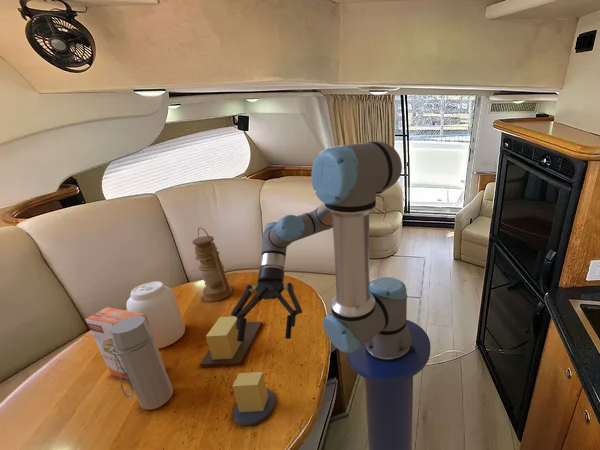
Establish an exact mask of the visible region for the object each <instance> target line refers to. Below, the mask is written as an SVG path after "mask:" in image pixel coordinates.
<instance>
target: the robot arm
mask: <svg viewBox="0 0 600 450" xmlns="http://www.w3.org/2000/svg"><path fill="white" fill-rule="evenodd" d="M402 170H403V163H402V159H401V156H400V153H398V151H397V150H396V149H395V148H394V147H393V146H392V145H390V144H389V143H387V142H383V141H379V140H377V141H369V142H359V143H349V144H339V145H336V146H331V147H327V148H324V149H323V150H321V151H320V152H319V154H318V155H317V156H316V157H315V159H314V161H313V164H312V168H311V185H312V188H313V190H315V195H316V197H317V199H318V200H319V201H320V202H322V203H321V204H319V206H317V207H316V208H315V209H314V210H312V211H308V212H304V213H302V214H298V215H296V214H286V215H284V216H283V217H281V218H280V219H278V221H272V222H268V223H266V225H264V231H263V234H262V237H263V238H262V246H261V255H260V260H259V268H260V269H259V270H258V276H257V284H256V285H251V284H246V286H245V290H244V292H243V293H242V295H241V296H240V299H239V300H238V301H237V303H236V304H235V306H234V308H233V309H232V311H231V312H230V316H235V317H237V323H236V329H238V337H237V341H240V342H243V341H244V334H245V327H246V322H247V318H246V316H247V315H248V314H249V313H250V312H251V311H253V309H254V308H255V307H256V305H257V304H259V302H261V301H262V300H265V301H267V300H276V299H278V300H279V302H280V303H281V304H282V306H283V307H284V308H285V310H286V311H287V312H288V313H289V314H287V316H286V326H285V327H286V328H285V337H284V338H285V339H287V340H290V339H292V328H294V327H295V326H296V317H297V315H299V314H302V313H303V309H302V307H301V304H300V302H299V300H298V298H297V295H296V294H295V291H294V284H293V283H291V282H288V283H286V284H284V280H285V271H284V270H285V268H286V258H287V247H289V246H290V245H291V244H292V243H294V242H297V241H299V240H302V239H305V238H308V237H310V236H313V235H315V234H319V233H321V232H325V231H328V230H329V231H330V230H331V229H332V234H333V252H334V273H335V291H336V294H335V296H334V297H333V298H332V299H331V303H330V307H331V313H329V314H327V315H326V316H325V317H324V318H323V320H322V326H323V330H324V332H325V334H326V337H327V338H328V340H329V341H330V343H331V344H332V345H333V346H334V347H335V348H336V349H337V350H339V351H340V352H341V353H343V354H346V353H348V354H349V353H352V352H354V351H356V350H357V349H359V348H361V347H362V346H363V345H364V344H365V349H366V351H367V353H368V354H369V355H370V356H371V357H372V358H374V359H376V360H379V361H385V362H390V361H396V360H399V359H401V358H403V357H405V356H406V355H407V354H408V353H409V352H410V350H412V351H415V348H413V347H412V337H411V334H410V331H409V329H408V326H407V324H406V320H407V317H408V316H407V312H408V311H407V310H408V308H407V307H408V306H407V305H408V292H407V287H406V284H405V282H403V281H401V280H400V279H398V278H395V277H392V276H391V277H390V276H378V277H374V278H372V279H371V280H370V276H371V275H370V270H371V269H370V266H371V265H370V264H371V263H370V212H372V211H373V210H374V209H375V208H376V206H377V195H380V194H383V193H384V192H385V191H386V190H388V189H390V188H391V187H393V186H394V185H395V184H396V183H398V180H399V179H400V177H401V175H402ZM284 290H285V291H286V292H287V293H288V295H289V297H290V299H291V300H290V301H291V302H292V304H293V306H294V308H293V307H292V306H291V305H290V303H289V302H288V300H286V298H285V297H284V295H283V294H282V293H283V291H284ZM255 291H256V293H255V294H254V295H253V293H254V292H255ZM252 295H253V297H252V298H251V296H252ZM250 298H251V299H250ZM249 299H250V300H249ZM248 301H249V302H248ZM247 302H248V303H247Z"/></svg>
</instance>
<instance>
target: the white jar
mask: <svg viewBox="0 0 600 450" xmlns="http://www.w3.org/2000/svg"><path fill="white" fill-rule="evenodd" d="M177 300H178V299H177V297H176V294H175V291H173V289H172V288H171V287H169V286H166V285H165V284H164V283H163V282H162V281H157V280H156V281H148V282H145V283H141V284H140V285H137V286H135V287H134V288H133V289H131V291H130V297H129V298H128V299H127V301H126V311H130V312H135V313H140V314H145V315H146V317H147V320H148V322H149V325H150V328H151V330H152V333H153V336H154V338H155V341H156V344H157V347H158V349H159V350H160V349H162V348H166V347H168V346H170V345H172V344H175V342H177V341H178V340H179V339H181V338H182V337H183V335H184V334H185V333H186V326H185V323H184V320H183V316H182V313H181V309H180V306H179V304H178V301H177Z"/></svg>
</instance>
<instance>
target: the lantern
mask: <svg viewBox="0 0 600 450" xmlns="http://www.w3.org/2000/svg"><path fill="white" fill-rule="evenodd" d="M200 230H202V231H203V232H205V234H206V235H203V236H200ZM214 240H215V238H214V236H212V235H209V234H208V232H207V231H206V229H204V228H203V227H198V228H197V238H194V239H193V240H192V241H191V242H192V245H194V251H195V252H194V254H195V257H194V259H195V260H196V261H199V262H200V264H199V265H198V268H197V269H198V274H199V276H200V277H201V279H202V281H204V285H205V286H204V287H203V290H202V294H203V299H204V301H206V302H209V303H211V302H212V303H214V302H218V301H222V300H225V299H226V298H228V297H229V296H231V294H232V293H233V289H232V287H231V284H230V282H229V278H228V277H229V275H228V274H227V273H226V272H225V265H224V264H223V262H222V261H221V259H220V251H218V247H216V244H215V242H214ZM226 276H227V277H226Z"/></svg>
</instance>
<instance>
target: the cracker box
mask: <svg viewBox="0 0 600 450" xmlns="http://www.w3.org/2000/svg"><path fill="white" fill-rule="evenodd" d="M133 316H143V317H144V318H145V320H146V322H147V324H148V325H149V322H148V320H147V317H146V315H145V314H140V313H135V312H130V311H128V310H125V309H121V308H120V309H119V308H114V307H110V306H107V307H104V308H102V309H100V310H99V311H98V312H96V313H93V314H92V315H90V316H88V317H87V318H85V322H86V324H87V326H88V328H89V331H90V333H91V335H92V337H93V339H94V342H95V343H96V345H97V347H98V350H99V352H100V354H101V356H102V358H103V360H104V362H105V365H106V367H107V369H108V371H109V373H110V375H111V376H112V377H117V378H119V374H120V378H121V379H124V380H127V379H126V377H125V375H124V373H123V371H122V369H121V367H120V365H119V363H118V360H119V362H120V364H121V366H122V368H123V370H124V372H125V374H126V376H127V378H128V380H129V381H130V379H129V377H128V375H127V372H126V370H125V368H124V365H123V363H122V361H121V358H120V356H119V354H117V355H116V356H117V358H118V360H117V358H116V361H117V365H118V370H119V374H118V370H117V365H116V361H115V357H116V356H114V355H113V353H112V352H111V351H110V348H112V347H113V346H114V343H113V340H112V336H111V332H110V329H111V328H112V326H113V325H114V324H116V323H117V322H119V321H121V320H123V319H126V318H128V317H133ZM149 327H150V325H149ZM150 329H151V328H150ZM154 339H155V338H154ZM155 342H156V341H155ZM114 349H115V351H116V353H118V351H117V349H116V347H114ZM158 350H159V353H160V354H161V352H160V348H159V349H158ZM161 358H162V356H161ZM162 361H163V364H164V366H165V363H164V360H163V358H162ZM165 369H166V370H167V368H166V366H165Z"/></svg>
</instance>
